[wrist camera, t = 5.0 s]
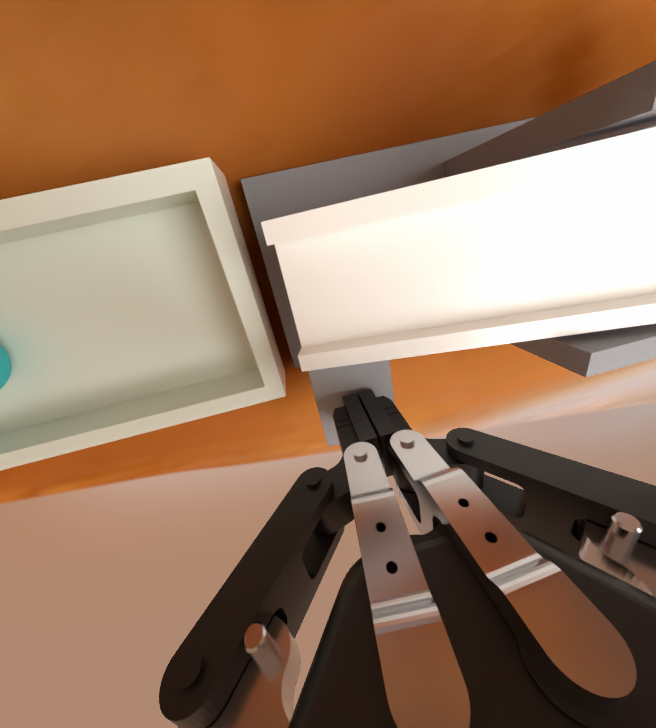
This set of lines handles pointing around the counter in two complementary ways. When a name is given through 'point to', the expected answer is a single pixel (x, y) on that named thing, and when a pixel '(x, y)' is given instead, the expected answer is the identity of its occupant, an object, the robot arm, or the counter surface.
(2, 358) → the ball
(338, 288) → the trough
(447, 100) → the counter surface
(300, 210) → the stand
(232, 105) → the counter surface
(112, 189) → the tray
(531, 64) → the counter surface
